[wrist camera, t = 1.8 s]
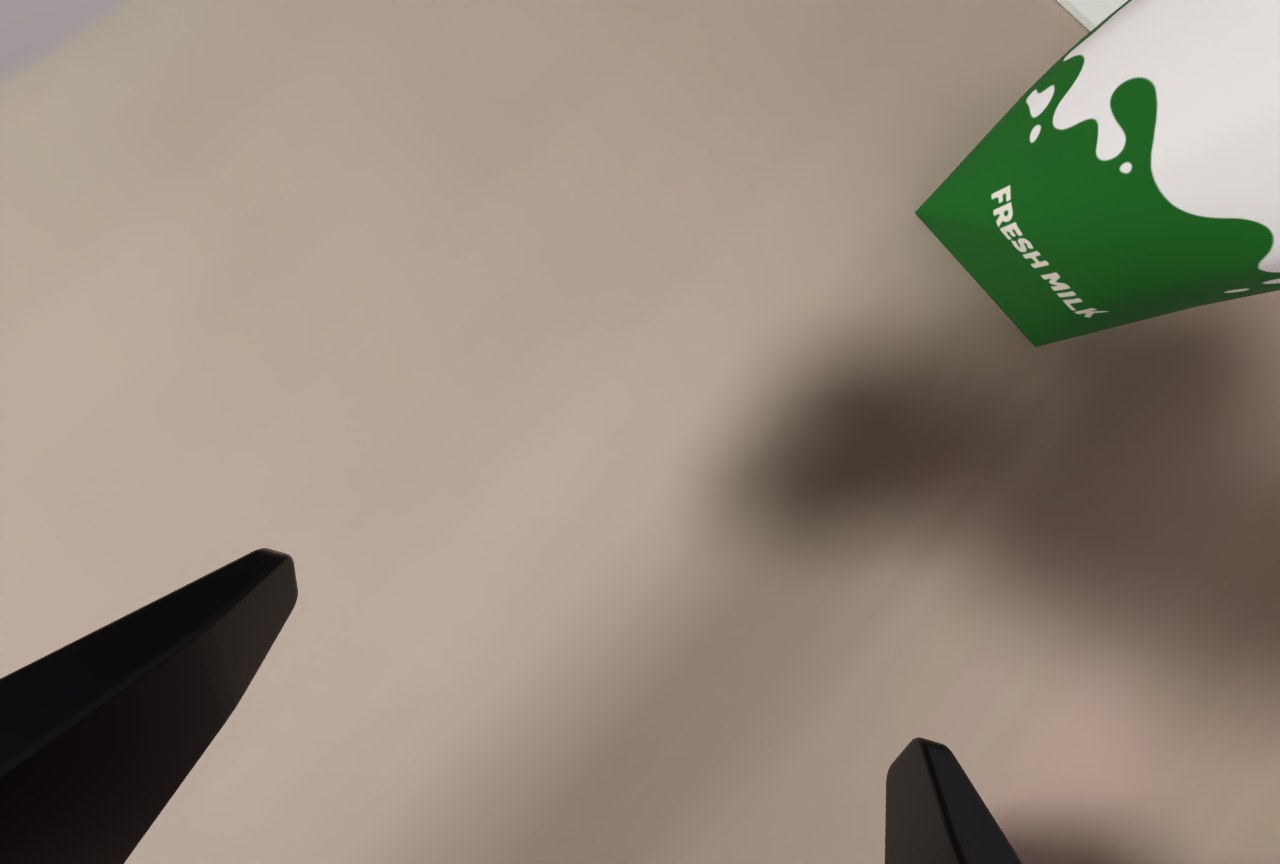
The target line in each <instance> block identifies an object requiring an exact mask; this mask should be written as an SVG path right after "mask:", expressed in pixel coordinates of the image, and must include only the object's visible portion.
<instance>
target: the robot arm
mask: <svg viewBox="0 0 1280 864" xmlns="http://www.w3.org/2000/svg"><path fill="white" fill-rule="evenodd" d="M297 596H298V588H297V582H296V575H295V568H294V562H293V559H292V557H291V556H290V555H288V554H285V553H282V552H278V551H275V550H271V549H267V548H262V549H258V550H255V551H253V552H251V553H249V554H247V555H245V556H243V557H241V558H239V559H237V560H235V561H233V562H231V563H229V564H227V565H225V566H223V567H221V568H219V569H217V570H215V571H213V572H211V573H209V574H207V575H205V576H203V577H201V578H199V579H197V580H195V581H194V582H192V583H190V584H188V585H186V586H184V587H182V588H180V589H178V590H176V591H174V592H172V593H170V594H168V595H166V596H164V597H162V598H160V599H158V600H156V601H154V602H152V603H150V604H148V605H146V606H144V607H142V608H140V609H138V610H136V611H134V612H132V613H130V614H128V615H126V616H124V617H122V618H120V619H118V620H116V621H114V622H112V623H110V624H108V625H106V626H104V627H102V628H100V629H98V630H96V631H94V632H92V633H90V634H88V635H86V636H84V637H82V638H80V639H78V640H76V641H74V642H72V643H70V644H68V645H66V646H64V647H62V648H60V649H58V650H56V651H55V652H53V653H51V654H49V655H47V656H45V657H43V658H41V659H39V660H37V661H35V662H33V663H31V664H29V665H27V666H25V667H23V668H21V669H19V670H17V671H15V672H13V673H11V674H9V675H7V676H5V677H3V678H1V679H0V864H124V862H125V861H126V860H127V858H128V857H129V856H130V854H131V853H132V851H133V850H134V849H135V847H136V846H137V844H138V843H139V842H140V840H141V839H142V837H143V836H144V835H145V833H146V832H147V831H148V829H149V828H150V826H151V825H152V824H153V822H154V821H155V819H156V818H157V817H158V815H159V814H160V813H161V811H162V810H163V808H164V807H165V806H166V804H167V803H168V801H169V800H170V799H171V797H172V796H173V794H174V793H175V792H176V790H177V789H178V788H179V786H180V785H181V783H182V782H183V781H184V779H185V778H186V776H187V775H188V774H189V772H190V771H191V770H192V768H193V767H194V765H195V764H196V763H197V761H198V760H199V758H200V757H201V756H202V754H203V753H204V751H205V750H206V749H207V747H208V746H209V745H210V743H211V742H212V740H213V739H214V738H215V736H216V735H217V733H218V732H219V731H220V729H221V728H222V727H223V725H224V724H225V722H226V721H227V719H228V718H229V716H230V715H231V714H232V712H233V711H234V709H235V708H236V706H237V705H238V703H239V701H240V700H241V698H242V696H243V695H244V693H245V691H246V690H247V688H248V686H249V685H250V683H251V681H252V679H253V678H254V676H255V674H256V672H257V671H258V669H259V667H260V666H261V664H262V662H263V660H264V659H265V657H266V655H267V653H268V652H269V650H270V648H271V647H272V645H273V643H274V641H275V640H276V638H277V636H278V634H279V633H280V631H281V629H282V627H283V626H284V624H285V622H286V621H287V619H288V617H289V615H290V614H291V612H292V610H293V608H294V606H295V604H296V601H297ZM885 864H1022V862H1021V860H1020V859H1019V857H1018V856H1017V854H1016V853H1015V851H1014V849H1013V848H1012V846H1011V845H1010V843H1009V842H1008V840H1007V838H1006V837H1005V835H1004V834H1003V832H1002V830H1001V829H1000V827H999V826H998V824H997V823H996V821H995V819H994V818H993V816H992V815H991V813H990V812H989V810H988V808H987V807H986V805H985V804H984V802H983V800H982V799H981V797H980V796H979V794H978V793H977V791H976V789H975V788H974V786H973V785H972V783H971V781H970V780H969V778H968V777H967V775H966V774H965V772H964V770H963V769H962V767H961V766H960V764H959V763H958V761H957V759H956V758H955V756H954V755H953V753H952V752H951V751H950V750H949V748H948V747H946V746H945V745H943V744H941V743H937V742H934V741H931V740H927V739H924V738H915V739H913V740H912V741H911V742H910V743H909V744H908V746H907V747H906V748H905V749H904V750H903V751H902V753H901V754H900V755H899V756H898V757H897V758H896V760H895V761H894V762H893V763H892V764H891V766H890V768H889V770H888V774H887V780H886V828H885Z"/></svg>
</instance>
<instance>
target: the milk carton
mask: <svg viewBox="0 0 1280 864" xmlns="http://www.w3.org/2000/svg"><path fill="white" fill-rule="evenodd" d="M915 214H916V215H917V216H918V217H919V218H920V219H921V220H922V221H923V222H924V223H925V225H926V226H927V227H928V228H929V229H930V230H931V231H932V232H933V233H934V235H935V236H936V237H937V238H938V239H939V240H940V241H941V242H942V243H943V245H944V246H945V247H946V248H947V249H948V250H949V251H950V252H951V253H952V255H953V256H954V257H955V258H956V259H957V260H958V261H959V262H960V263H961V265H962V266H963V267H964V268H965V269H966V270H967V271H968V272H969V273H970V275H971V276H972V277H973V278H974V279H975V280H976V281H977V282H978V283H979V285H980V286H981V287H982V288H983V289H984V290H985V291H986V292H987V293H988V295H989V296H990V297H991V298H992V299H993V300H994V301H995V302H996V304H997V305H998V306H999V307H1000V308H1001V309H1002V310H1003V311H1004V312H1005V314H1006V315H1007V316H1008V317H1009V318H1010V319H1011V320H1012V321H1013V322H1014V324H1015V325H1016V326H1017V327H1018V328H1019V329H1020V330H1021V331H1022V332H1023V334H1024V335H1025V336H1026V337H1027V338H1028V339H1029V340H1030V341H1031V342H1032V344H1033V345H1034V346H1035V347H1037V346H1041V345H1045V344H1049V343H1053V342H1057V341H1061V340H1065V339H1069V338H1073V337H1077V336H1080V335H1084V334H1088V333H1092V332H1096V331H1100V330H1104V329H1108V328H1112V327H1116V326H1120V325H1124V324H1128V323H1132V322H1136V321H1140V320H1144V319H1148V318H1152V317H1156V316H1160V315H1164V314H1168V313H1172V312H1176V311H1180V310H1184V309H1188V308H1192V307H1196V306H1201V305H1206V304H1211V303H1216V302H1221V301H1226V300H1231V299H1236V298H1241V297H1246V296H1251V295H1256V294H1261V293H1266V292H1271V291H1276V290H1280V0H1128V1H1127V2H1125V3H1124V4H1123V5H1122V6H1120V7H1119V8H1118V9H1117V10H1115V11H1114V12H1113V13H1112V14H1111V15H1109V16H1108V17H1107V18H1106V19H1105V20H1103V21H1102V22H1101V23H1100V24H1099V25H1098V26H1096V27H1095V28H1094V29H1093V30H1092V31H1091V32H1089V33H1088V34H1087V35H1086V36H1085V37H1084V38H1082V39H1081V40H1080V41H1079V42H1078V43H1077V44H1076V45H1075V46H1074V47H1072V48H1071V49H1070V50H1069V51H1068V52H1067V53H1066V54H1065V55H1064V56H1063V57H1062V58H1061V59H1060V60H1058V61H1057V62H1056V63H1055V64H1054V65H1053V66H1052V67H1051V68H1050V69H1049V70H1048V71H1047V72H1046V73H1045V74H1044V75H1043V76H1042V77H1041V78H1040V79H1039V80H1038V81H1037V82H1036V83H1035V84H1034V85H1033V86H1032V87H1031V88H1030V89H1029V90H1028V91H1027V92H1026V93H1025V94H1024V95H1023V96H1022V97H1021V98H1020V99H1019V100H1018V102H1017V103H1016V104H1015V105H1014V106H1013V107H1012V108H1011V109H1010V110H1009V111H1008V112H1007V113H1006V114H1005V116H1004V117H1003V118H1002V119H1001V120H1000V121H999V122H998V123H997V124H996V125H995V126H994V128H993V129H992V130H991V131H990V132H989V133H988V134H987V135H986V136H985V137H984V138H983V140H982V141H981V142H980V143H979V144H978V145H977V146H976V147H975V148H974V149H973V150H972V151H971V153H970V154H969V155H968V156H967V157H966V158H965V159H964V160H963V161H962V162H961V163H960V165H959V166H958V167H957V168H956V169H955V170H954V171H953V172H952V173H951V174H950V176H949V177H948V178H947V179H946V180H945V181H944V182H943V183H942V184H941V185H940V186H939V188H938V189H937V190H936V191H935V192H934V193H933V194H932V195H931V196H930V197H929V198H928V199H927V200H926V201H925V202H924V204H923V205H922V206H921V207H920V208H919V209H918V210H917V211H916V212H915Z"/></svg>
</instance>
